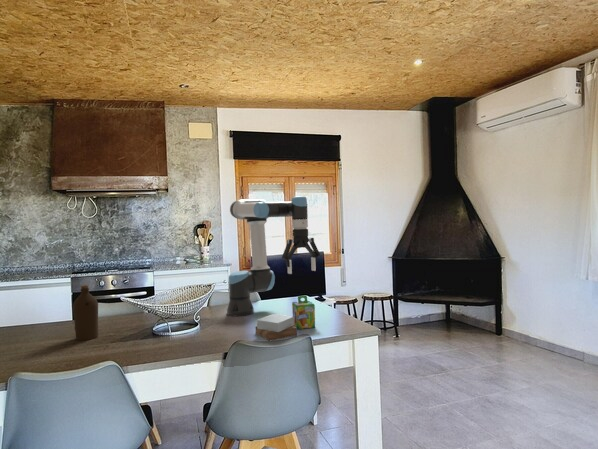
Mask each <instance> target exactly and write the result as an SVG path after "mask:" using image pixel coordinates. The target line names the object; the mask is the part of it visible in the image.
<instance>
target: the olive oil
mask: <svg viewBox="0 0 598 449" xmlns="http://www.w3.org/2000/svg"><path fill="white" fill-rule="evenodd" d="M72 313H73V314H72V315H73V321H74V332H75V340H76V341H82V342H83V341H89V340H93V339H96V338H98V337H99V303H98V300H97V298H96V297H95V296H94V295H92V294H91V293H90V288H89V284H82V285H80V294H79V296H77V298H76V299H75V300H74V302H73V305H72Z"/></svg>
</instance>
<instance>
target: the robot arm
mask: <svg viewBox="0 0 598 449" xmlns="http://www.w3.org/2000/svg"><path fill="white" fill-rule="evenodd" d="M307 200H308V199H307V196H293V197H291V199H290V201H266V200H265V199H261V198H253V199H252V198H251V199H250V198H249V199H237V200H235V201H233V202H232V203H231V204H230V207H229V212H230V215H231V216H232V217H233V218H234V219H237V220H246V223H247V224H248V225H249V233H250V234H249V235H250V245H251V246H250V249H251V260H252V261H251V262H252V266H251V267H250V271H249V270H239V271H235V272H232V273H230V274H229V276H228V296H229V297H228V298H229V302H228V304H227V309H226V315H227V316H229V317H242V316H248V315H251V314H254V312H255V310H254V309H255V308H254V305H253V303H252V300H251V294H253V293H254V294H255V293H259V292H261V293H262V292H266V291H270V290H272V289H273V287H274V285H275V283H276V282H275V279H276V276H275V273H274V271H273V270H271V267H270V266H269V265H268V258H267V257H268V256H267V245H266V244H267V243H266V242H267V241H266V228H265V224H266V223H267V221H268V220H267V219H269V218H288V217H289V218H290V217H291V218H292V221H291V222H292V224H291V225H292V226H291V228H292V239H291V238H287V241H286V242H287V243H286V246H285V248H284V251H283V253H282V256H281V258H282V259H283V260H285V266H286V268H287V274H288V275H292V274H293V271H292V270H293V266H292V265H293V264H292V259H291V258H292V257H293V256H294V254H295V252H296V251H297V250H298V249H301V248H305V250H306V251H307V252H308V253H309V254H310V255H311V257H310V264H311V266H310V267H311V271H312V272H313V271H314V272H316V268H317V266H316V264H317V260H318V259H317V258H318V257H319V256H320V255H321V253H320V251H319V249H318V247H317V245H316V243H315V238H314V237H309V228H308V227H309V224H308V223H309V222H308V214H309V213H308V202H307ZM292 244H293V245H292Z"/></svg>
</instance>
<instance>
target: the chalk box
mask: <svg viewBox="0 0 598 449" xmlns="http://www.w3.org/2000/svg"><path fill="white" fill-rule="evenodd" d="M301 299H304V300H301ZM291 304H292V308H291V309H292V317H294V325H293V326H294V327H296V328H297V330H302V329H313V328H314V329H315V328H316V315H315V314H316V312H315V311H316V310H315V309H316V306H315V304H314V303H313V302H312V301H309V300H308V297H307V295H298V296H297V301H293V302H292V303H291Z"/></svg>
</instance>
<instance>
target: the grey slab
mask: <svg viewBox="0 0 598 449" xmlns="http://www.w3.org/2000/svg"><path fill="white" fill-rule="evenodd" d="M256 326H257V329H263V330H269V331H275V332H280V331H282V330H284V329H287V328H289V327H291V326H294V317H293V315H285V314H277V313H272V314H269V315H266V316H263V317H261V318H258V319H257V320H256Z"/></svg>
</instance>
